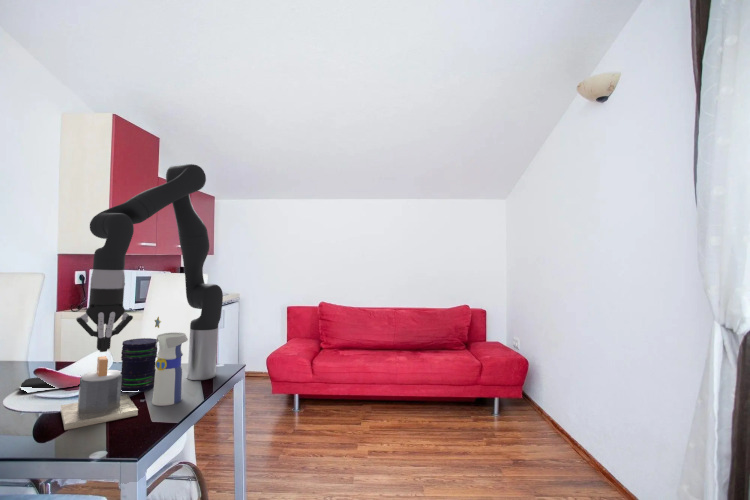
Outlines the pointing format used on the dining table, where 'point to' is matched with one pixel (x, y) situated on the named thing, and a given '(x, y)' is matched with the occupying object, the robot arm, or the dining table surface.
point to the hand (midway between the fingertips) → (103, 351)
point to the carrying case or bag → (35, 384)
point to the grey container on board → (98, 404)
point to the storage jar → (138, 364)
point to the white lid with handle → (101, 372)
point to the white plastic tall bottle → (168, 368)
